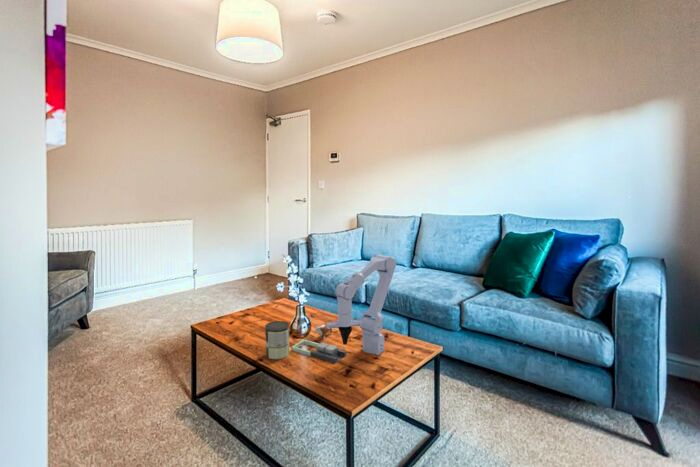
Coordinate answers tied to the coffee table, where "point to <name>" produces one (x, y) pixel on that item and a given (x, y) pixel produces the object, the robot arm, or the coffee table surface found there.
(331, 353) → the grey cube
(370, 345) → the robot arm
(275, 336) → the coffee can
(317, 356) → the slot board
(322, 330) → the bull figurine
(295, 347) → the tray
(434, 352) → the coffee table surface
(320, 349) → the chip
